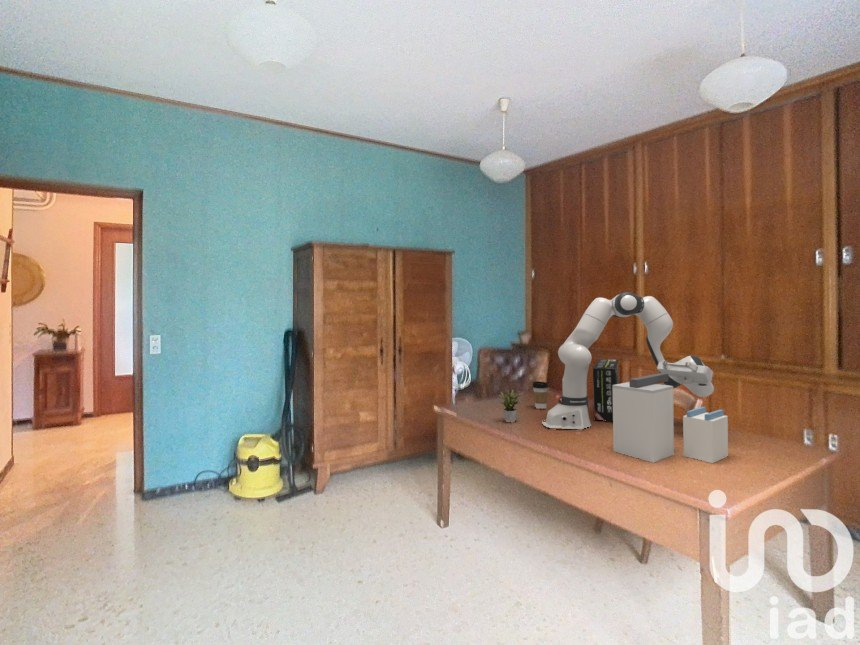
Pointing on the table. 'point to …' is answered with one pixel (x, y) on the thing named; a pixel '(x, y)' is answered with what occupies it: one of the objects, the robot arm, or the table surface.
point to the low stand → (705, 435)
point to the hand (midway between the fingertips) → (675, 362)
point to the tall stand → (643, 421)
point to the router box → (604, 388)
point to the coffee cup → (540, 394)
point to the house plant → (510, 406)
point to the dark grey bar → (648, 380)
